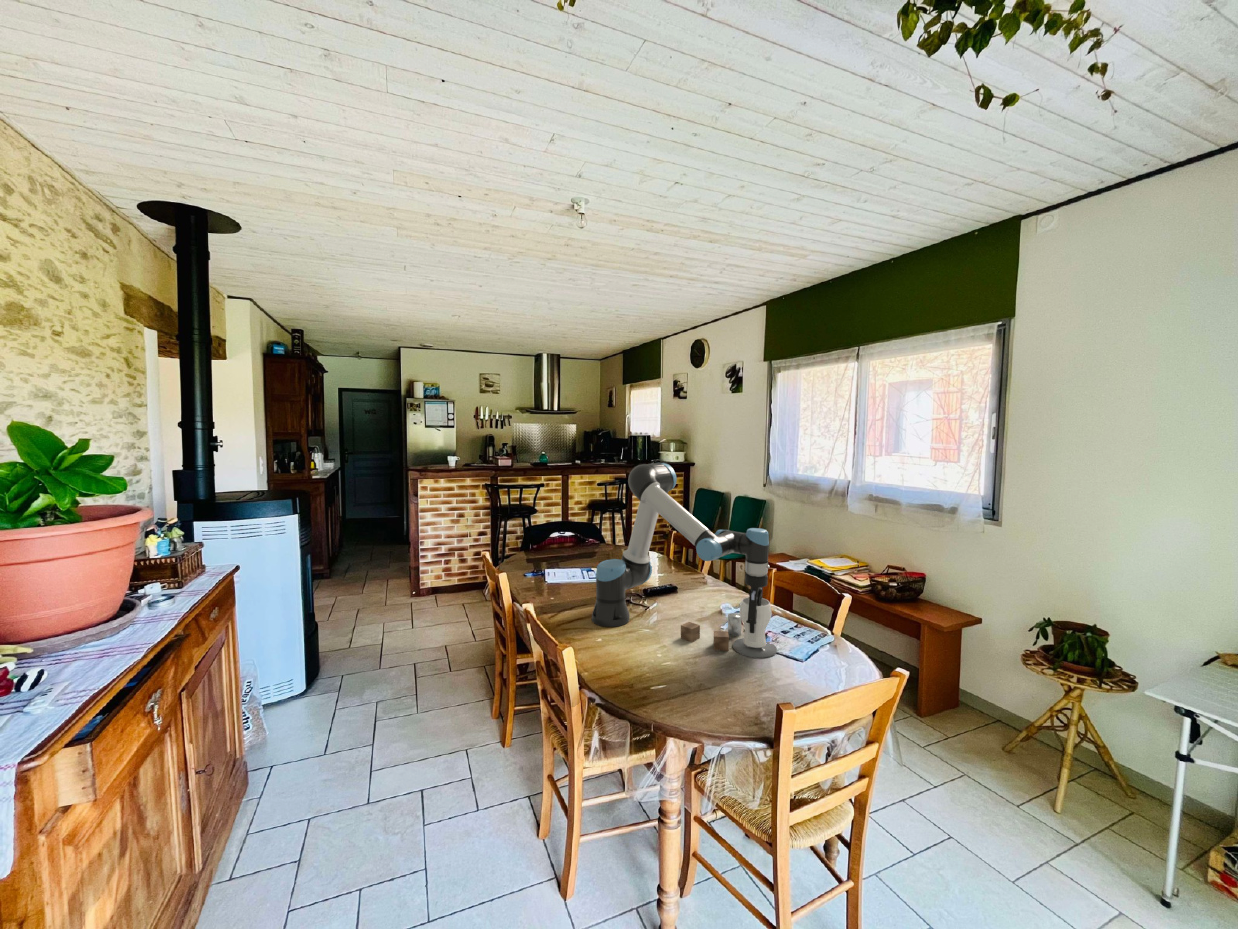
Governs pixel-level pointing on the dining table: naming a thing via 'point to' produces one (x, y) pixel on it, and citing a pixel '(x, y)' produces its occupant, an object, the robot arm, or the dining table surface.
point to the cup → (761, 621)
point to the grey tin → (734, 624)
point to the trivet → (754, 649)
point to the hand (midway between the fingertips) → (754, 635)
